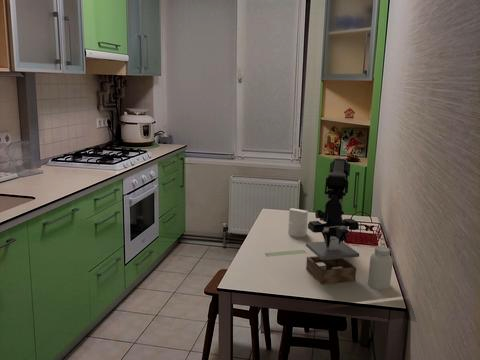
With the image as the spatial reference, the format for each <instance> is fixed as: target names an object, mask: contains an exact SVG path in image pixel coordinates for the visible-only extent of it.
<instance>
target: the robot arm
mask: <svg viewBox="0 0 480 360" xmlns="http://www.w3.org/2000/svg"><path fill="white" fill-rule="evenodd" d="M328 171H329V173H328V176H326V178H325V184H324V185H325V186H324V195H327V200H326V201H325V205H324V208H325V209H324V212H323V211H322V210H321V209H317V210H315V219H319V220H310V221H309V222H307V230H309V231H311V233H315V234H316V233H321V235H322V237H323V240H324V241H325V244H326V247H327V248H328V247H329V243H330V237H334V236H335V237H336V238H338V239H339V244H340V242H341V241H342V242H345V241H347V238H348V233H350V230H352V231H358V230H359V229H360V224H359V222H358V221H356V220H355V219H354V218H343V215H345V212H344V210H343V205H344V197H346V195H347V194H348V193H349V185H350V184H349V183H350V182H349V177H350V176H351V164H350V163H349V162H348V161H347V159H346V158H339V157H338V158H333V161H331V162H330V163H329V170H328ZM320 221H321V222H320ZM322 222H324V223H322ZM348 228H349V229H350V230H349V229H348Z"/></svg>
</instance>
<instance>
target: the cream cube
mask: <svg viewBox="0 0 480 360" xmlns="http://www.w3.org/2000/svg"><path fill="white" fill-rule="evenodd" d="M316 264H317V265H318V266H319V267H320V268H321V269H323V270H326V265H325V264H324V263H323V262H317V263H316Z"/></svg>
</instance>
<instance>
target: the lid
mask: <svg viewBox="0 0 480 360" xmlns="http://www.w3.org/2000/svg"><path fill="white" fill-rule="evenodd" d="M305 247H306V248H307V249H309V250H310V251H311V252H312V253H314V254H315V255H316V256H318V257H319V258H320V259H321V260H330V259H341V258H344V259H350V258H360V252H358V251H356V250H355V249H354V248H352V247H351V246H349V245H348V244H347V243H345V241H343V242H342V241H341V242H340V244H339V239H338V238H336V237H335V236H334V237H330V243H329V247H328V248H327V247H326V244H325V240H324V241H315V242H306V243H305Z"/></svg>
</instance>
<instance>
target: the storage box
mask: <svg viewBox="0 0 480 360" xmlns="http://www.w3.org/2000/svg"><path fill="white" fill-rule="evenodd" d="M317 262H323V263H324V264H325V265H326V270H323V269H321V268H320V267H319V266H318V265H317V264H316V263H317ZM332 267H342V268H340V269H332ZM305 269H306V271H307V272H308V273H309V274H310V275H311V276H312V277H313V278H314V279H315V280H316V281H318V283H319V284H320V285H327V284H328V285H329V284H338V283H347V282H348V283H349V282H356V278H357V277H356V275H357V267H356V266H355V265H353V264H352V263H351V262H350V261H348V260H347V258H341V259H330V260H321V259H320V258H319V257H318V256H317V255H316V256H313V255H312V256H306V266H305Z"/></svg>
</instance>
